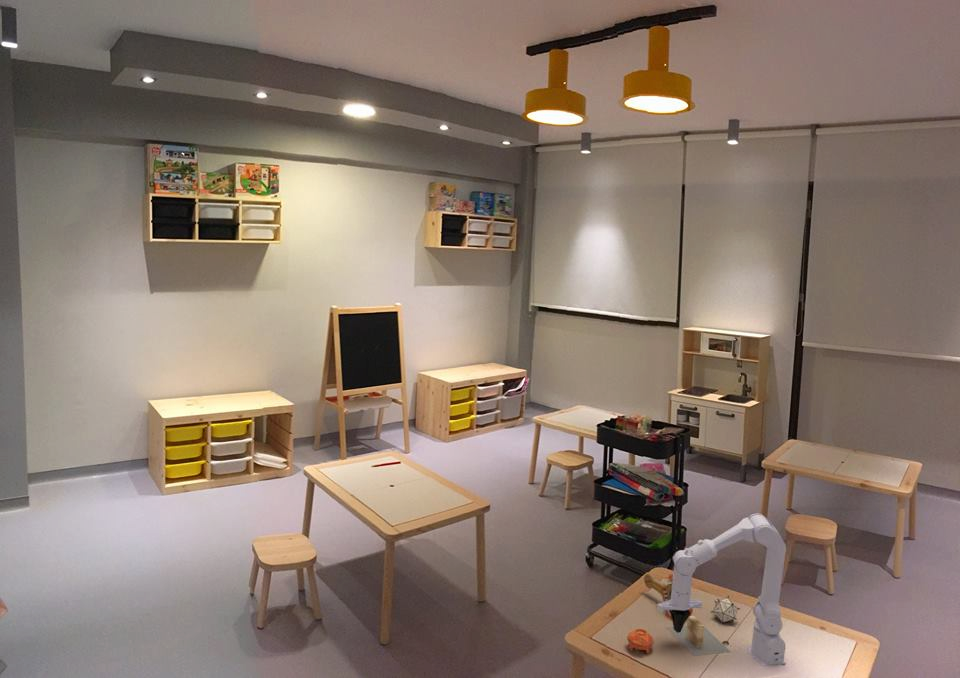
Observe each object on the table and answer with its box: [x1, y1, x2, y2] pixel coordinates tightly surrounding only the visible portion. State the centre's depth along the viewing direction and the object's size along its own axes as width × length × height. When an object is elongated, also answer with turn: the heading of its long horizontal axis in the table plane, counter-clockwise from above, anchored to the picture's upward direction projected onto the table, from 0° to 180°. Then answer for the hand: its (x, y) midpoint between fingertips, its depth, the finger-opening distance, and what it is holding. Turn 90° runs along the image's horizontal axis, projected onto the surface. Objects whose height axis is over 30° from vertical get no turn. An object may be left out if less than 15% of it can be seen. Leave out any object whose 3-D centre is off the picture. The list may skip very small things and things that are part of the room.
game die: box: [710, 595, 741, 625], centre depth 234 cm, size 9×8×10 cm
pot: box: [626, 628, 655, 654], centre depth 214 cm, size 8×8×7 cm
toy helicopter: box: [643, 573, 694, 620], centre depth 240 cm, size 8×21×14 cm, turn 28°
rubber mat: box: [666, 625, 731, 657], centre depth 221 cm, size 16×13×1 cm
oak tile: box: [686, 615, 705, 647], centre depth 219 cm, size 6×2×7 cm, turn 16°
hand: (677, 630), depth 217 cm, fingers closed
